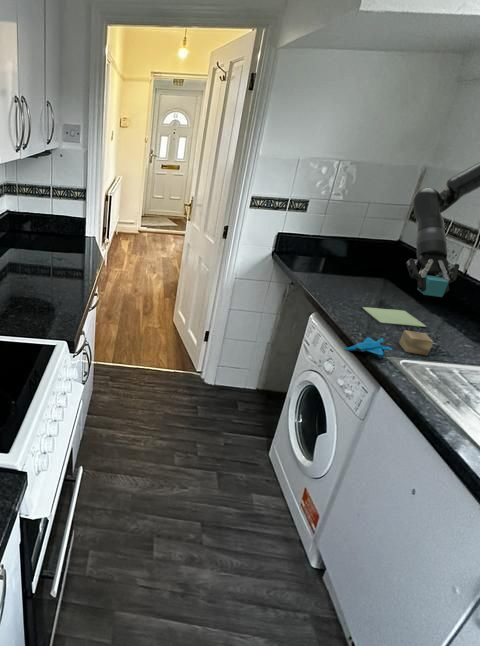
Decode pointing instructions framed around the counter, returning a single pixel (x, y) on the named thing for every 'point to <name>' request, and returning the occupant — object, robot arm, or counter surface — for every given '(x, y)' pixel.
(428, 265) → the robot arm
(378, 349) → the toy airplane
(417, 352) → the base block
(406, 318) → the mat
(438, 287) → the top cube
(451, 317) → the counter surface
